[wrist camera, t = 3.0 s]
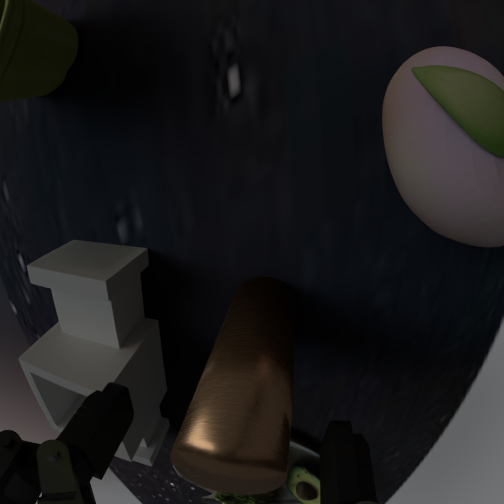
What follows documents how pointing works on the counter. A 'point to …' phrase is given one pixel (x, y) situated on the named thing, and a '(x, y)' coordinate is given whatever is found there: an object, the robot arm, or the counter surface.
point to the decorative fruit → (449, 143)
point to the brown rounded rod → (244, 397)
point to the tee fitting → (99, 340)
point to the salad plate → (295, 487)
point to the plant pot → (33, 49)
